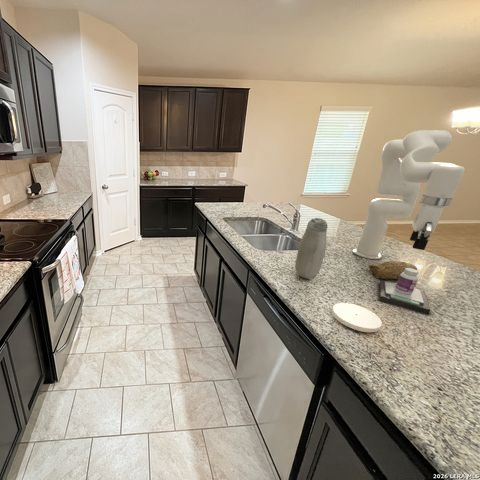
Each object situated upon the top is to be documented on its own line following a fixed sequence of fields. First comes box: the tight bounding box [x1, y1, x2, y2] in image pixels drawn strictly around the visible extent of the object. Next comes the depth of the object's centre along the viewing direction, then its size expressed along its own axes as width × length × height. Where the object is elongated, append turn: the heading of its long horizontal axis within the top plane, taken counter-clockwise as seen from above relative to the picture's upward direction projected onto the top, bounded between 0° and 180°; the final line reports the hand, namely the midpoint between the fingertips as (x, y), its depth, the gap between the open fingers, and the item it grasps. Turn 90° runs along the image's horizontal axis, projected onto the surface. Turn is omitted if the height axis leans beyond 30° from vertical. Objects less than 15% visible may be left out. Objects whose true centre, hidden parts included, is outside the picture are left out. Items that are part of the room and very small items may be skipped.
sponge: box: [368, 260, 418, 280], centre depth 118 cm, size 13×8×20 cm
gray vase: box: [294, 217, 328, 279], centre depth 113 cm, size 10×10×28 cm
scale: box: [378, 279, 431, 316], centre depth 101 cm, size 16×14×3 cm
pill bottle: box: [395, 268, 420, 294], centre depth 100 cm, size 5×5×10 cm
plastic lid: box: [331, 302, 383, 333], centre depth 88 cm, size 14×14×2 cm
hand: (416, 244), depth 97 cm, fingers open, 9 cm apart
